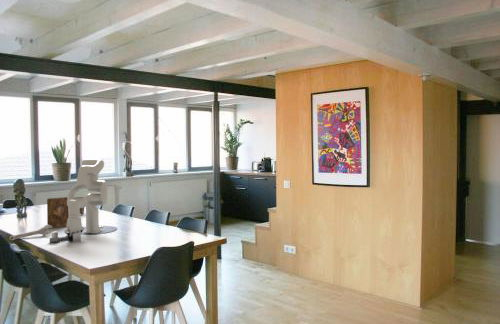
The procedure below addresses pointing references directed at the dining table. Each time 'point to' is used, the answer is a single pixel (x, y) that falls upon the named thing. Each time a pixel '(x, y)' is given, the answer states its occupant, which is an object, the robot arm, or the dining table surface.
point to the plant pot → (81, 208)
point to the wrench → (33, 232)
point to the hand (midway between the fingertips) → (74, 240)
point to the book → (57, 212)
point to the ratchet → (57, 238)
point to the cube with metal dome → (76, 237)
